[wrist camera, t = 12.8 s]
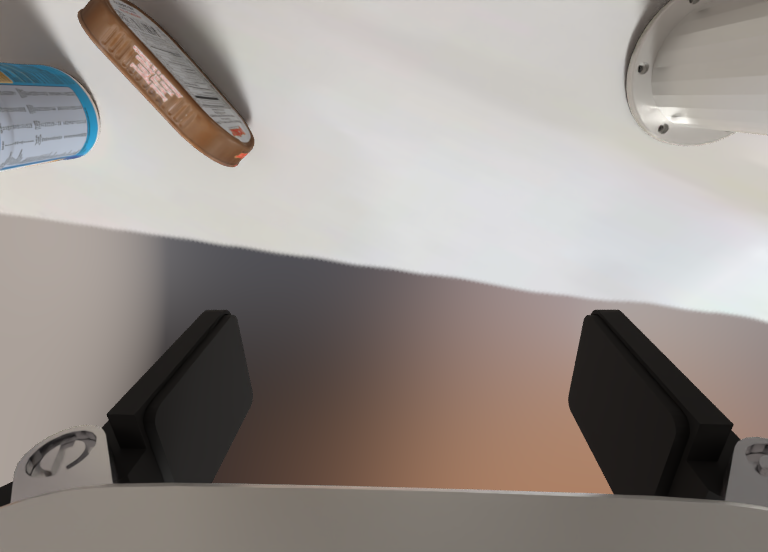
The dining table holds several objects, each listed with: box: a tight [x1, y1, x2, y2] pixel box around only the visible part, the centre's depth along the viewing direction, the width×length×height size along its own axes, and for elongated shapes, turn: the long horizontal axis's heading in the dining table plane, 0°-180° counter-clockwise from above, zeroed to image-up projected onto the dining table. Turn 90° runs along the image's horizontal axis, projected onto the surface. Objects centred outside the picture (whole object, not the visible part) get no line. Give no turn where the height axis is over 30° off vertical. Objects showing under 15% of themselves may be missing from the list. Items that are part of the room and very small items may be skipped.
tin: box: [78, 0, 254, 167], centre depth 33 cm, size 15×3×8 cm, turn 39°
